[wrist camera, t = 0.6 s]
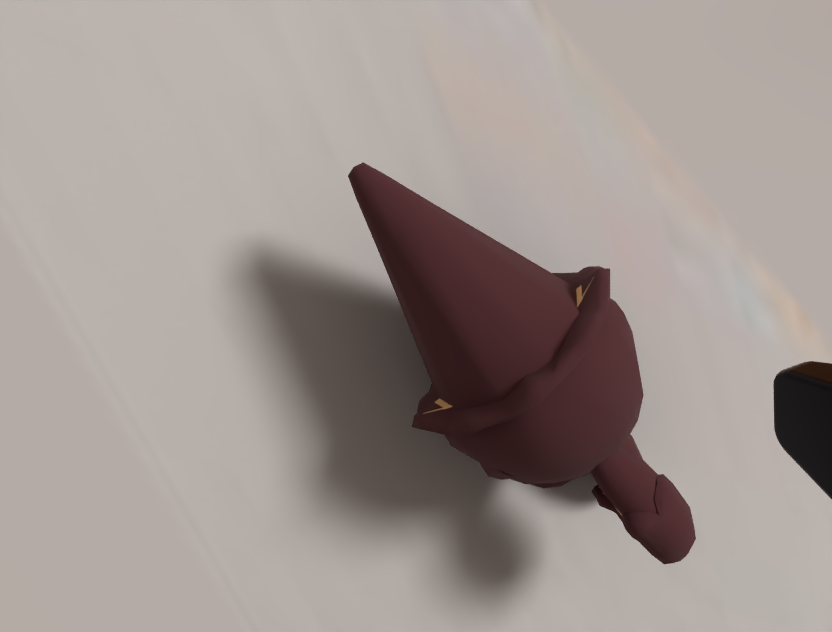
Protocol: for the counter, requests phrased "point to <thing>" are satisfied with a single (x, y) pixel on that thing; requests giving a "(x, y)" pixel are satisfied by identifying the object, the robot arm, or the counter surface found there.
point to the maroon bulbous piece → (522, 362)
